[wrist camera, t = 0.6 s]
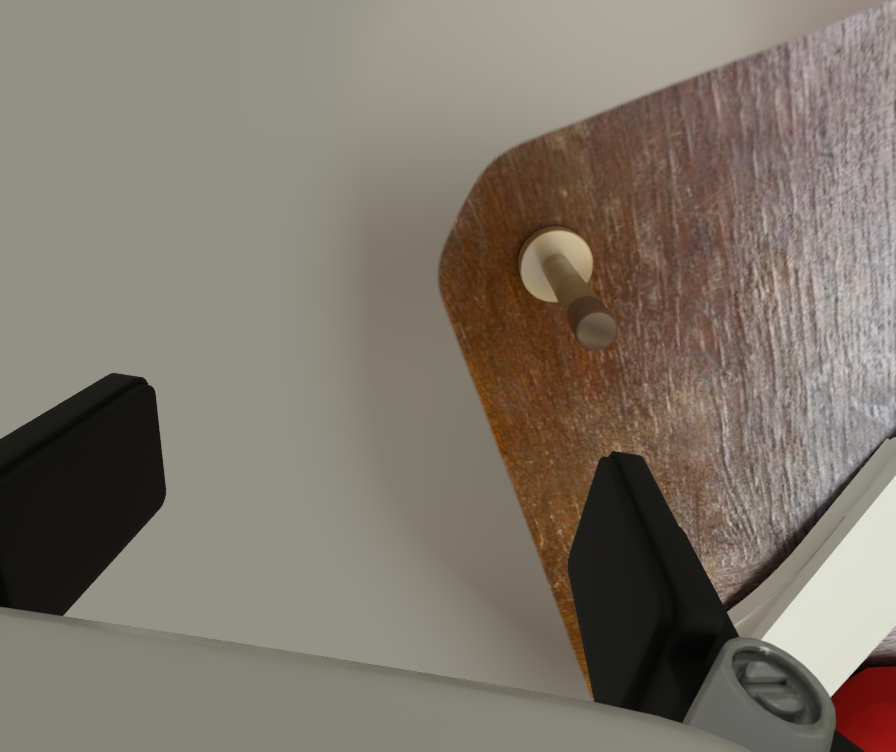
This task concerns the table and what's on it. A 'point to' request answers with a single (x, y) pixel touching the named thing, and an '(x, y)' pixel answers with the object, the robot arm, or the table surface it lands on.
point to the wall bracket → (835, 581)
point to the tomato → (868, 709)
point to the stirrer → (567, 283)
